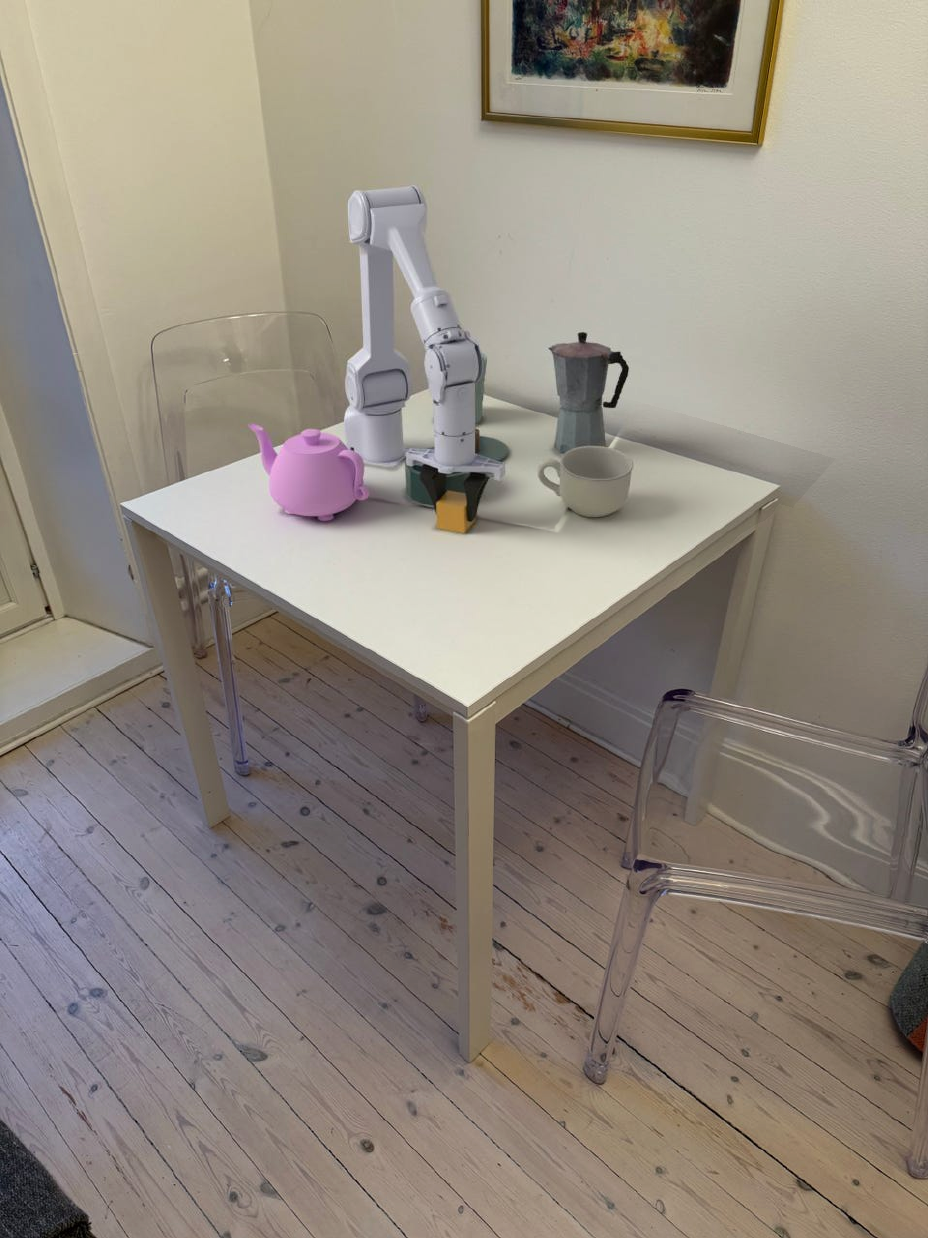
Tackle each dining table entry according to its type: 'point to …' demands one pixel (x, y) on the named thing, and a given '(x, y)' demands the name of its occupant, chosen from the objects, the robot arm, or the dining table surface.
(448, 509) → the block
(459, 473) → the pot
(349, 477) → the teapot
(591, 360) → the moka pot
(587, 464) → the teacup
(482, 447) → the lid
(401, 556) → the dining table surface
